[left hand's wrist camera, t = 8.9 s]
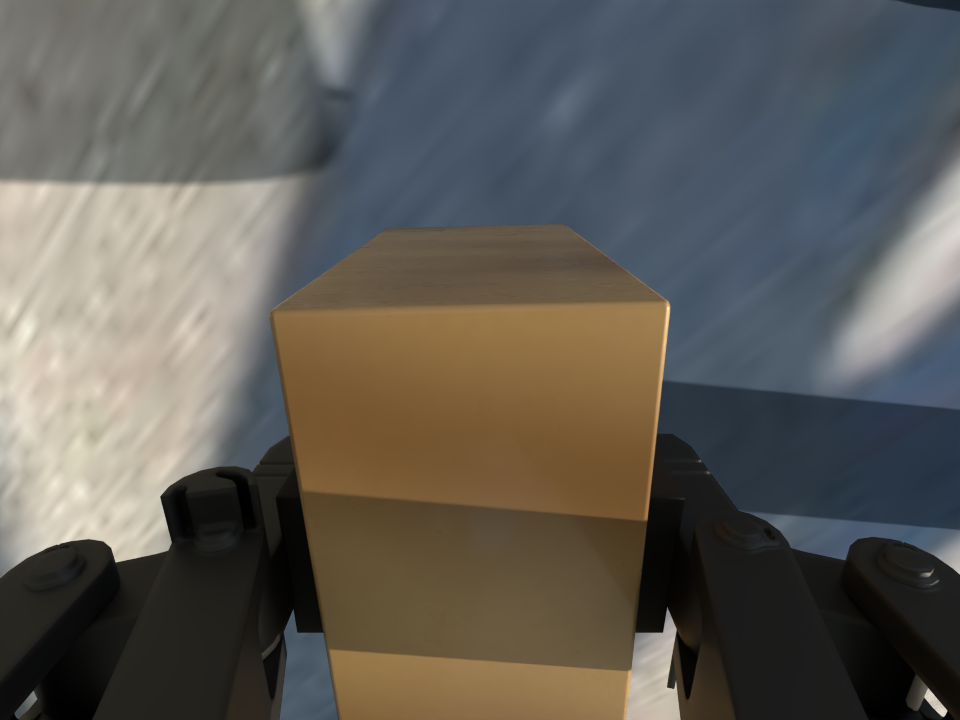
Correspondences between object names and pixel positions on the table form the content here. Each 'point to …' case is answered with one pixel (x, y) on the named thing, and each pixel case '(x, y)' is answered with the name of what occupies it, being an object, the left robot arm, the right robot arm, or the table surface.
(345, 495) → the beam
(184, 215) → the table surface
